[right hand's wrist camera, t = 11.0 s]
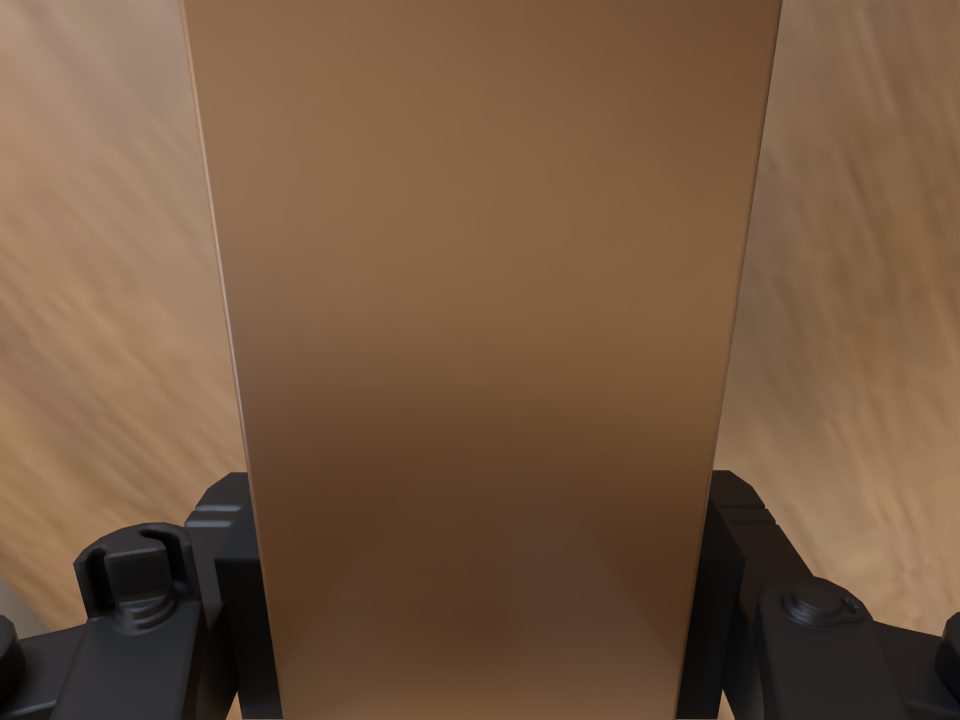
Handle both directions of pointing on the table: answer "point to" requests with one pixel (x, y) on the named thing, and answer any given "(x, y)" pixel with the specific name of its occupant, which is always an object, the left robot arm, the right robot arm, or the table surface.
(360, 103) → the post
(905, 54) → the table surface
